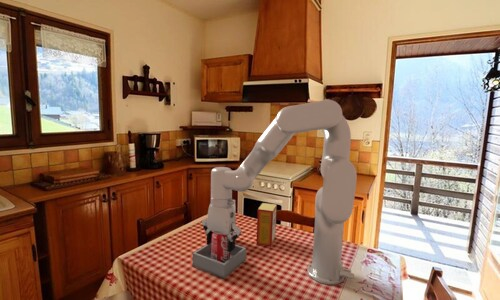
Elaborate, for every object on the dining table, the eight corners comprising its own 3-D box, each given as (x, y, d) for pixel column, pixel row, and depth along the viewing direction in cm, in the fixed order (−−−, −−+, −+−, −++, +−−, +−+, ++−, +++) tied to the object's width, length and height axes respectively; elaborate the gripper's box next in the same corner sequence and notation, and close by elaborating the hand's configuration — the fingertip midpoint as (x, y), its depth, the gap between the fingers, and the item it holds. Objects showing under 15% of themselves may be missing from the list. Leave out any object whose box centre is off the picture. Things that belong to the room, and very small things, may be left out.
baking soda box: (261, 235, 121) (262, 202, 119) (275, 237, 119) (276, 203, 117) (256, 244, 112) (257, 208, 110) (271, 246, 110) (272, 210, 108)
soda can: (233, 258, 99) (233, 227, 97) (226, 268, 92) (227, 235, 90) (215, 255, 100) (216, 225, 99) (207, 264, 94) (208, 232, 92)
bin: (245, 260, 99) (246, 248, 98) (224, 279, 87) (224, 265, 86) (216, 250, 106) (216, 238, 105) (192, 266, 94) (192, 253, 93)
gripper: (247, 203, 92) (245, 249, 94) (209, 195, 101) (208, 237, 103) (235, 209, 86) (234, 258, 88) (195, 199, 95) (195, 244, 97)
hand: (220, 246), depth 95 cm, fingers open, 9 cm apart
